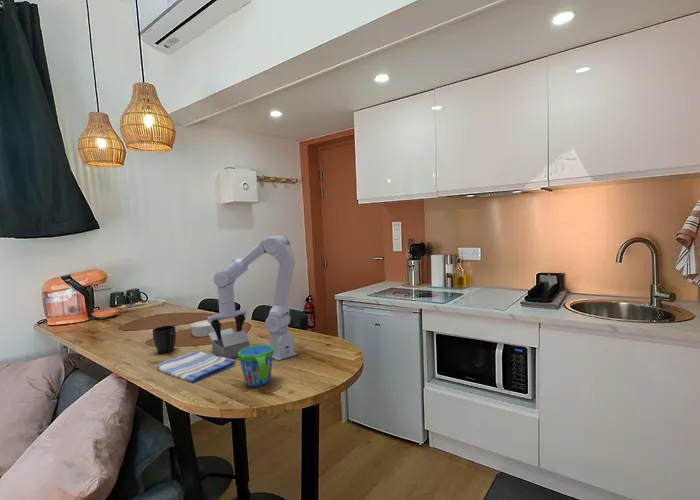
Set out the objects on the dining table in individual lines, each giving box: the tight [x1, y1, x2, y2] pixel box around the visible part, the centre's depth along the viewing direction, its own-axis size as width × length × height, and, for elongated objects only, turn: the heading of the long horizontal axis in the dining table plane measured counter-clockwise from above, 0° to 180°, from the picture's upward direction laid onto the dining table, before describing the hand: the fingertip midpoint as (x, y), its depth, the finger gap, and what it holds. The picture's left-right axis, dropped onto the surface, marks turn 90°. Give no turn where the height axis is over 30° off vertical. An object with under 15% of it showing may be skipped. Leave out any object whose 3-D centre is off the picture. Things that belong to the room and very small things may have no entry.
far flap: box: [208, 327, 235, 342], centre depth 147 cm, size 4×9×1 cm, turn 130°
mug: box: [152, 325, 177, 355], centre depth 146 cm, size 8×12×10 cm
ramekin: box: [189, 319, 215, 338], centre depth 170 cm, size 11×11×5 cm
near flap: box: [221, 329, 250, 348], centre depth 137 cm, size 4×9×1 cm
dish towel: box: [156, 349, 236, 384], centre depth 128 cm, size 17×24×3 cm
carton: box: [211, 339, 251, 359], centre depth 141 cm, size 12×10×4 cm
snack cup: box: [237, 344, 274, 387], centre depth 112 cm, size 16×10×10 cm
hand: (229, 337), depth 141 cm, fingers open, 7 cm apart
